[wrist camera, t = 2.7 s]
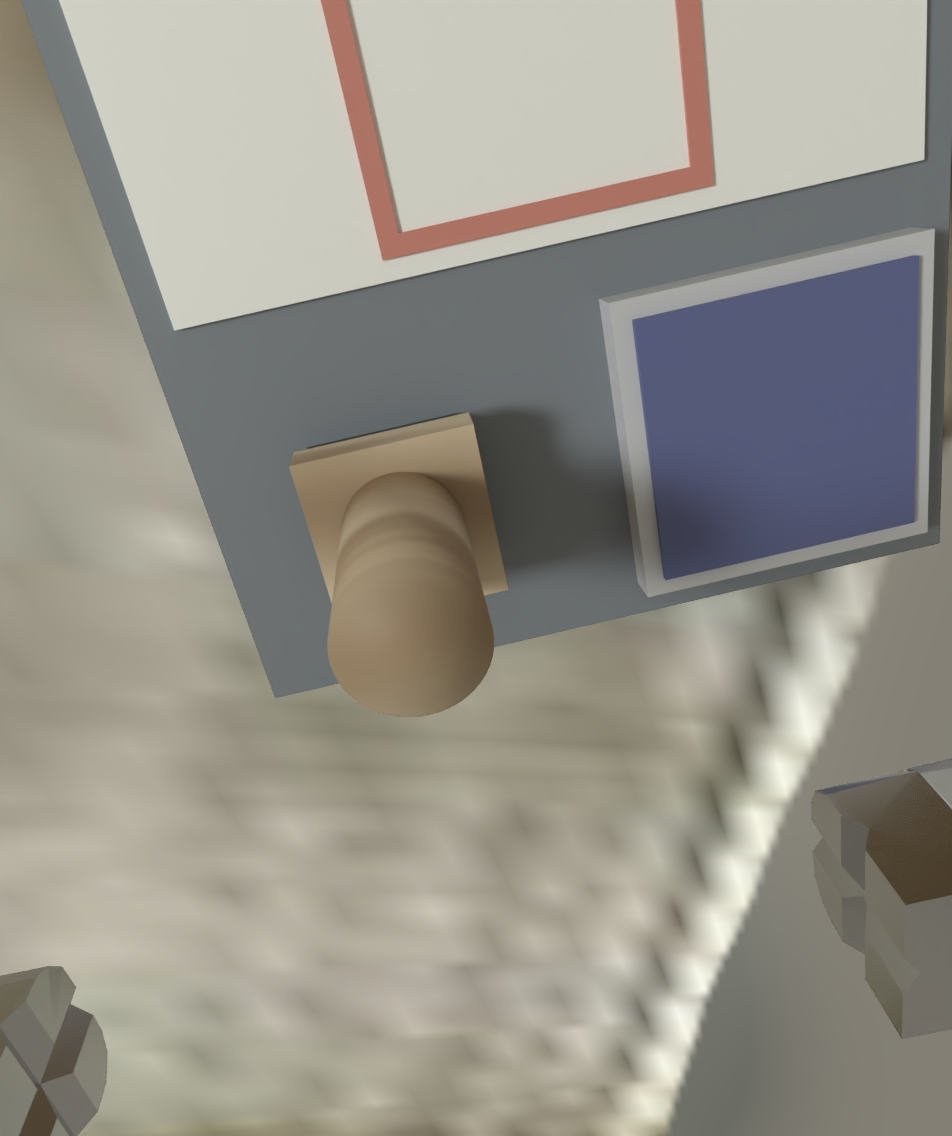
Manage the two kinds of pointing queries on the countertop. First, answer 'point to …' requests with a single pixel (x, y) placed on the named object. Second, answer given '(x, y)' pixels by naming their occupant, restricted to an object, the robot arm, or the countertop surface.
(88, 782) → the countertop surface
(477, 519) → the stamp
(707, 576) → the stamping board
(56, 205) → the countertop surface
